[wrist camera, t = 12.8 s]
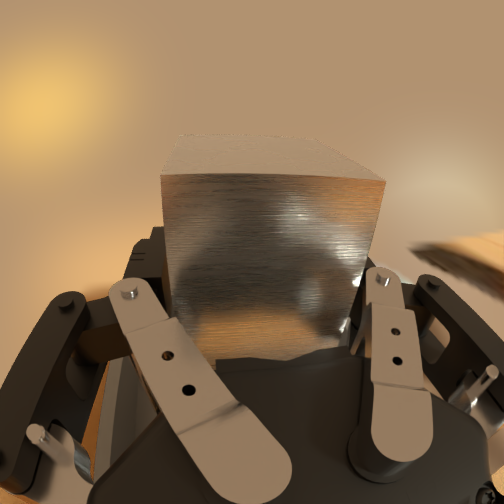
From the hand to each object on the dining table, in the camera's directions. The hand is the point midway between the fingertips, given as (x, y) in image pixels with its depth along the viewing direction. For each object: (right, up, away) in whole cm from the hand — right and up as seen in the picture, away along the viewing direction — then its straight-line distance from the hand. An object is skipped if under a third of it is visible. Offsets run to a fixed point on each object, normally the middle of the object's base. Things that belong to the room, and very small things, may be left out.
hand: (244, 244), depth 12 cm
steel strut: (0, -9, +3) cm, 10 cm away
